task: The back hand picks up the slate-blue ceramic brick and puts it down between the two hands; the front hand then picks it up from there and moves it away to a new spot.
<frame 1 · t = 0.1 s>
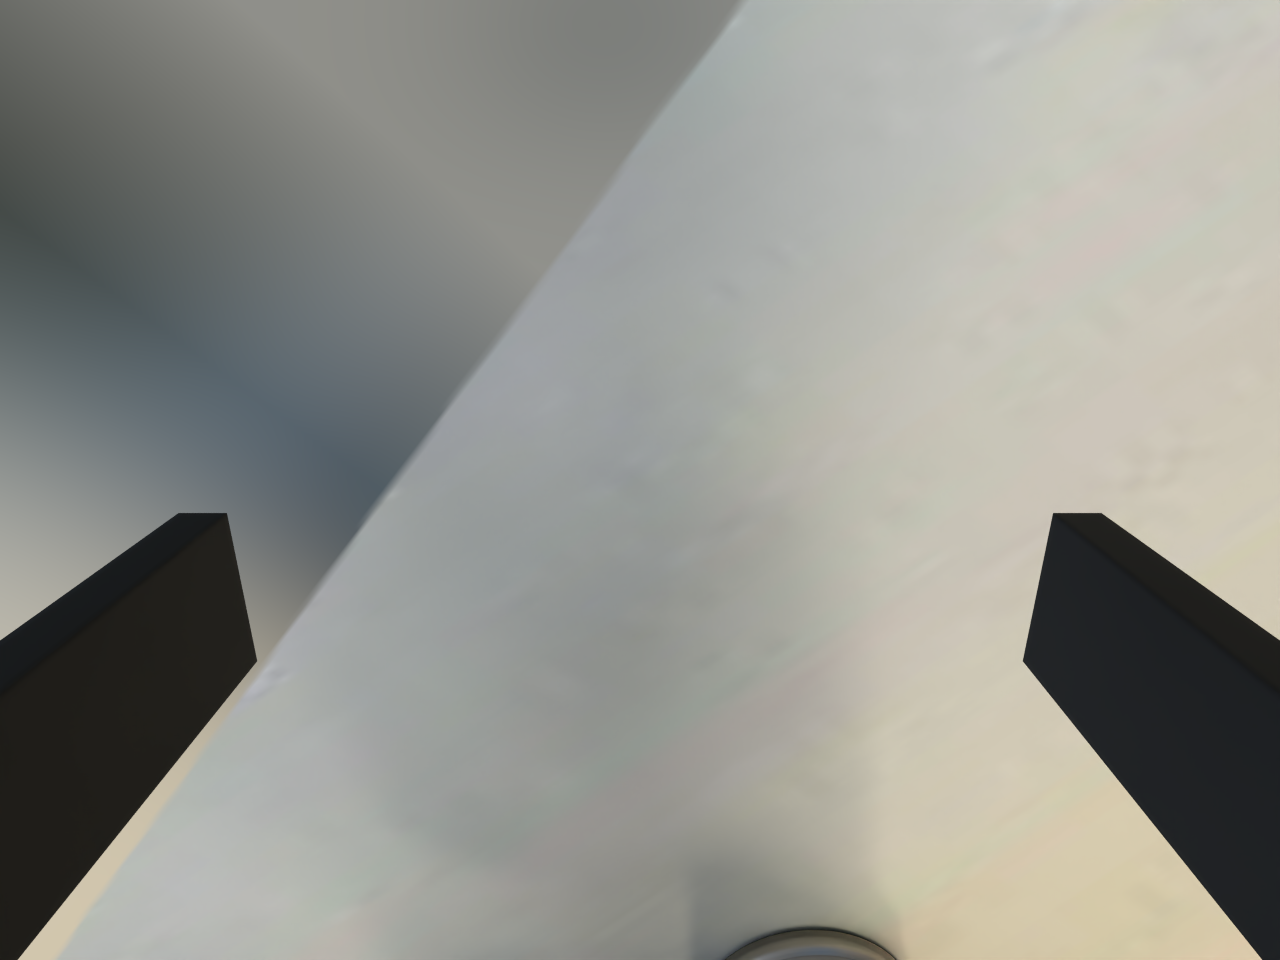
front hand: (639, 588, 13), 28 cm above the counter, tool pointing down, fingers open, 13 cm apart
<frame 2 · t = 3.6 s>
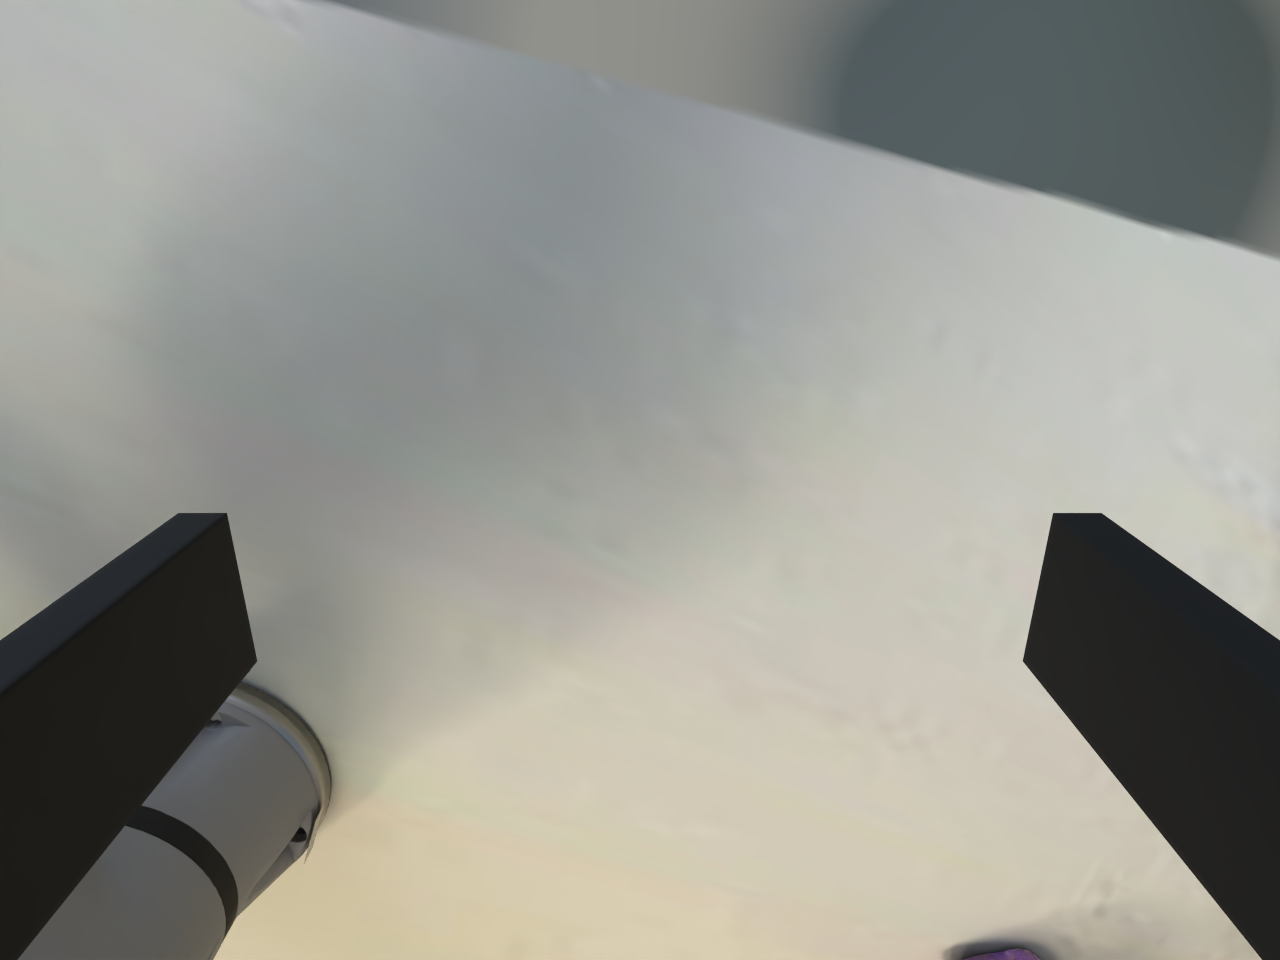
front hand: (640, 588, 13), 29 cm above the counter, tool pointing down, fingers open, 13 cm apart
when the back hand's fingers open (3 cm above the counter, at t = 8.8 s): brick drops 1 cm, on the counter.
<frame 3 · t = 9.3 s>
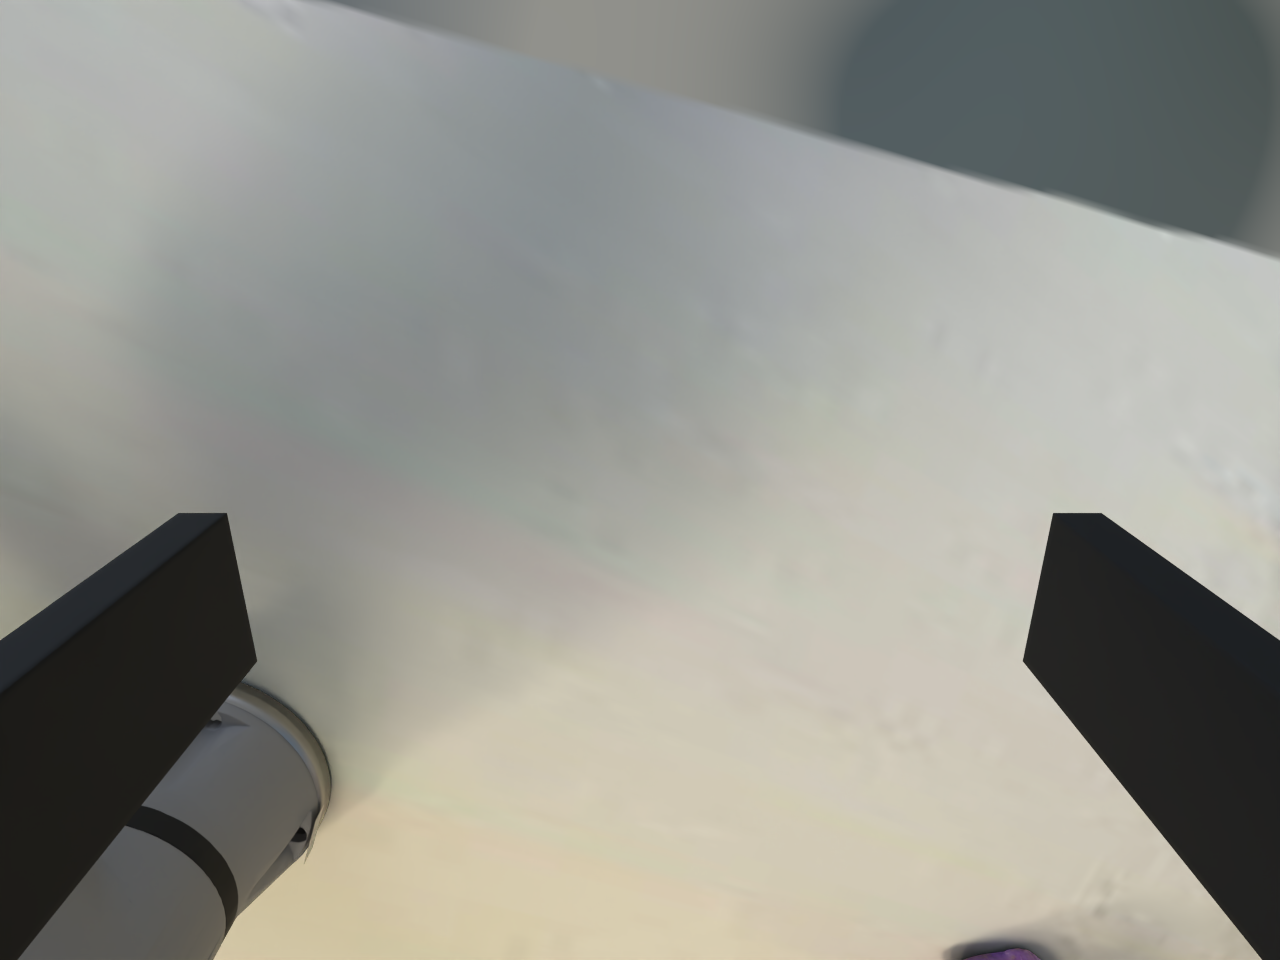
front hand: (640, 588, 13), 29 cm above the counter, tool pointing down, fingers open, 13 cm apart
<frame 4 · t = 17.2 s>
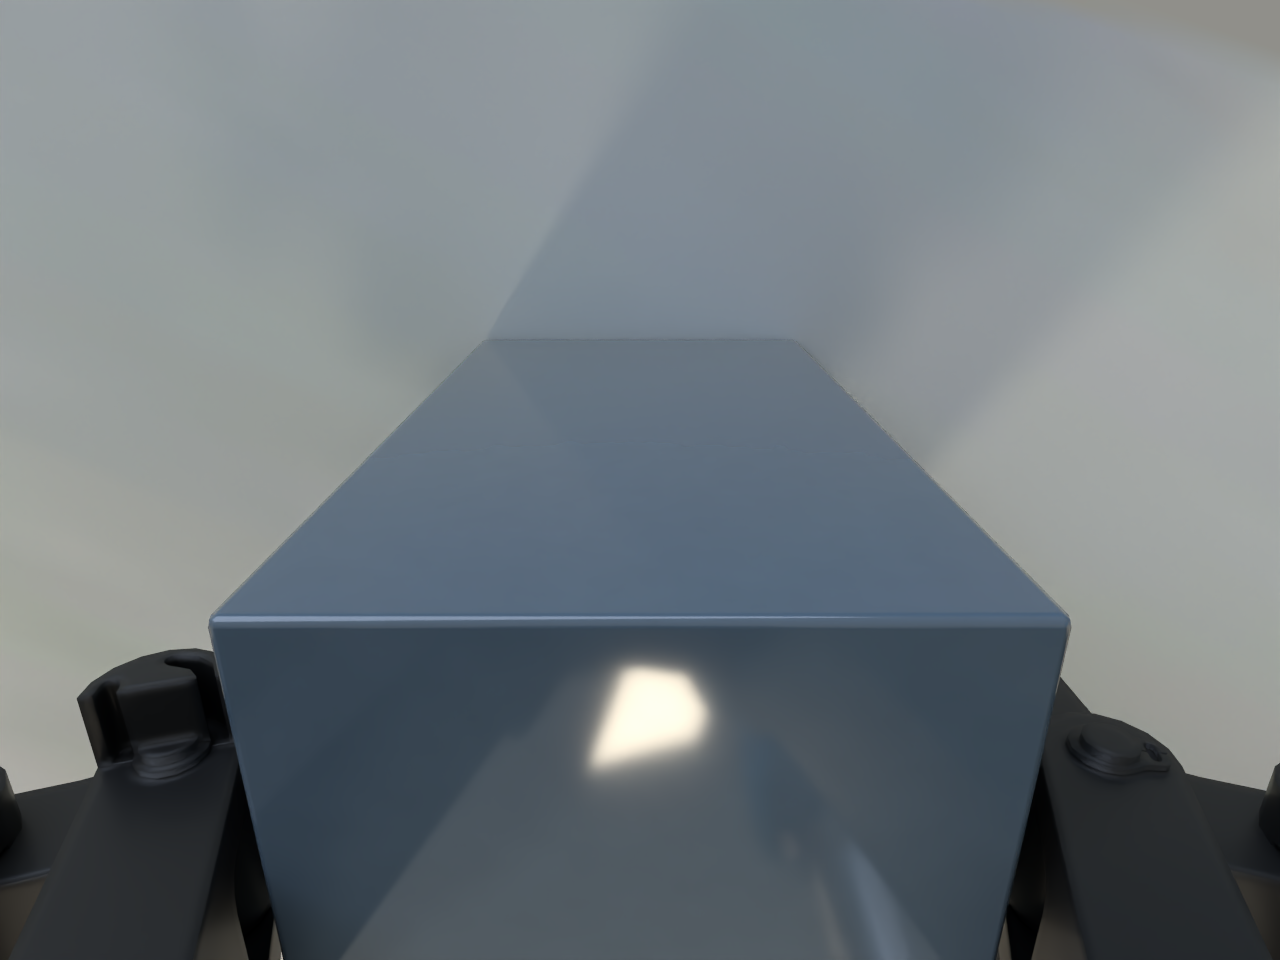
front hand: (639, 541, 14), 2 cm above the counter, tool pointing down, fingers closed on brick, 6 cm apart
brick: (639, 494, 16), on the counter, touching front hand
when the front hand's fingers open (3 cm above the counter, at t = 26.4 s): brick drops 1 cm, on the counter.
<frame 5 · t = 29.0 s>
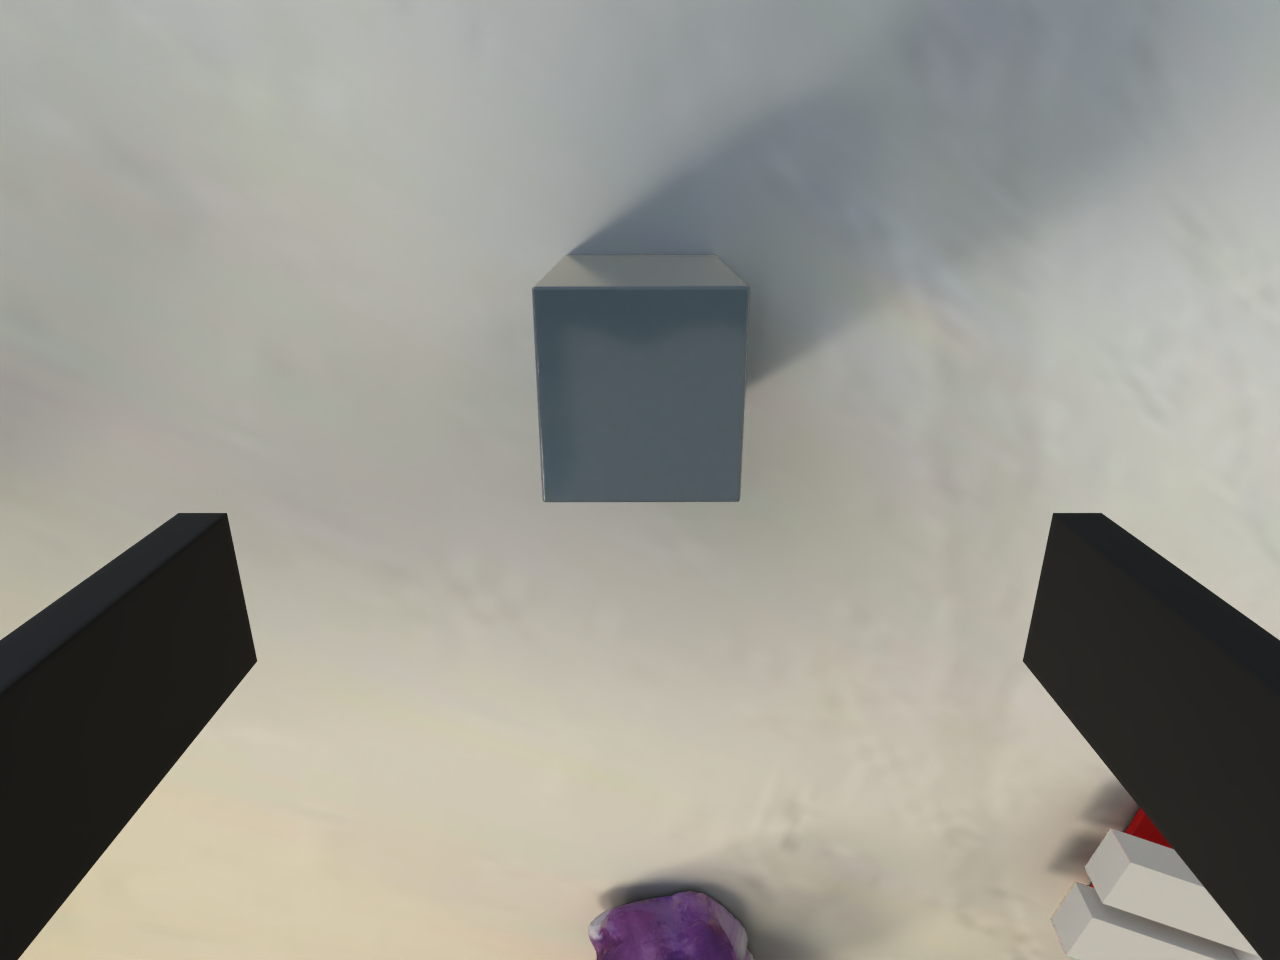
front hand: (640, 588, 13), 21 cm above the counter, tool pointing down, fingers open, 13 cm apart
figurine: (686, 937, 45), on the counter
brick: (640, 335, 33), on the counter
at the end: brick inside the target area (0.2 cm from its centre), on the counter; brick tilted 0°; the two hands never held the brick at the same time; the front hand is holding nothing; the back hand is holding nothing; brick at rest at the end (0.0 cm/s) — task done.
